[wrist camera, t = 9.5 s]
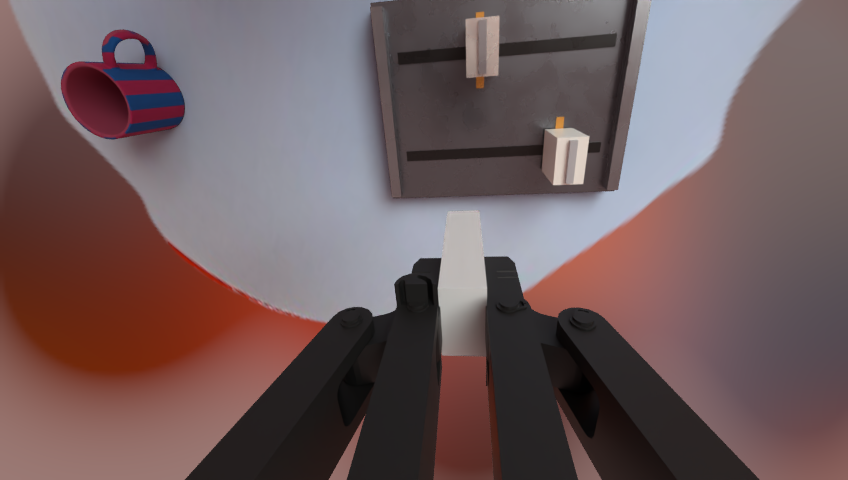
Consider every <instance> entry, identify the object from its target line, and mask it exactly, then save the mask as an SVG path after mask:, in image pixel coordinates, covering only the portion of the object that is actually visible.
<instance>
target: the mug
mask: <svg viewBox="0 0 848 480" xmlns="http://www.w3.org/2000/svg"><path fill="white" fill-rule="evenodd" d="M125 39H137V40H139V41H140V42H141V44H142V46H143V49H144V52H145V63H144V64H139V63H116V60H115V57H114V52H115V48H116V46H117V44H118V43H119V42H120V41H123V40H125ZM102 56H103V62H75V63H73V64H70V65H69V66H68V67H67V68H66V69H65V71H64V72H63V75H62V79H61V90H62V94H63V98H64V100H65V103H66V105H67V107H68V109H69V110H70V112H71V113H72V115H73V116H74V117H75V119H76V120H77V121H78V122H79V123H80V124H81V125H82V126H83V127H84V128H86V129H87V130H88V131H90V132H91V133H93V134H95V135H97V136H99V137H102V138H106V139H118V138H124V137H129V136H135V135H140V134H145V133H151V132H156V131H162V130H167V129H171V128H174V127H176V126H177V125H178V124H179V123H180V122H181V120H182V118H183V115H184V109H185V108H184V100H183V96H182V94H181V91H180V89H179V87H178V86H177V84H176V83H175V81H174V80H173V79H172V78H171V77H170V76H169V75H168V74H167V73H166V72H165V71H163V70H162V69H160V68H158V67H157V61H156V55H155V52H154V49H153V47H152V45H151V44H150V42H149V41H148V40H147V39H146V38H144V37H143V36H141V35H139V34H137V33H135V32H132V31H129V30H115V31H112V32H111V33H109V34H108V35H107V36H106V37H105V39H104V41H103V45H102Z"/></svg>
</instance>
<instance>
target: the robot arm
mask: <svg viewBox="0 0 848 480" xmlns="http://www.w3.org/2000/svg"><path fill="white" fill-rule="evenodd" d="M394 286H395V294H396V301H397V308H396V310H395V311H393V312H391V313H388V314H384V315H380V316H375V317H372V313H371V312H370V311H369V310H368V309H365V308H362V307H352V308H347V309H345V310H342V311H340V312H338V313H337V314H336V315H335V316H333V317H332V319H331V320H330V321H329V322H328V323H327V324H326V325H325V326H324V327H323V328H322V330H321V331H320V332H319V333H318V334H317V335H316V336H315V337H314V339H312V341H311V342H310V343H309V344H308V345H307V346H306V347H305V348H304V349H303V351H302V352H301V353H300V354H299V355H298V356H297V357H296V358H295V359H294V360H293V361H292V363H291V364H290V365H289V366H288V367H287V368H286V369H285V370H284V371H283V373H282V374H281V375H280V376H279V377H278V378H277V379H276V380H275V381H274V382H273V383H272V385H271V386H270V387H269V388H268V389H267V390H266V391H265V392H264V393H263V394H262V396H261V397H260V398H259V399H258V400H257V401H256V402H255V403H254V404H253V406H251V408H250V409H249V410H248V411H247V412H246V413H245V414H244V415H243V416H242V417H241V419H240V420H239V421H238V422H237V423H236V424H235V425H234V426H233V428H231V430H230V431H229V432H228V433H227V434H226V435H225V436H224V437H223V438H222V439H221V441H220V442H219V443H218V444H217V445H216V446H215V447H214V448H213V449H212V450H211V452H210V453H209V454H208V455H207V456H206V457H205V458H204V459H203V460H202V461H201V463H200V464H199V465H198V466H197V467H196V468H195V469H194V470H193V471H192V472H191V474H190V475H189V476H188V477H187V478H186V479H185V480H329V478H330V476H331V474H332V473H333V471H334V469H335V467H336V465H337V464H338V462H339V460H340V458H341V456H342V455H343V453H344V451H345V449H346V448H347V446H348V444H349V442H350V441H351V439H352V437H353V435H354V433H355V432H356V430H357V428H358V426H359V425H360V423H361V421H362V419H363V418H364V416H365V419H364V422H363V425H362V429H361V432H360V436H359V440H358V443H357V446H356V450H355V453H354V457H353V460H352V464H351V467H350V470H349V474H348V477H347V480H433V478H434V477H433V476H434V465H435V452H436V439H437V425H438V412H439V399H440V386H441V373H442V361H441V352H442V355H450V356H486V386H488V401H489V414H490V415H489V416H490V430H491V445H492V461H493V475H494V480H578V478H577V474H576V471H575V467H574V463H573V460H572V456H571V452H570V449H569V445H568V441H567V438H566V434H565V430H564V427H563V423H562V419H561V416H560V412H559V409H558V405H557V401H558V403H559V405H560V407H561V408H562V410H563V412H564V414H565V415H566V417H567V419H568V420H569V422H570V424H571V426H572V428H573V429H574V431H575V433H576V435H577V437H578V438H579V440H580V442H581V443H582V445H583V447H584V449H585V451H586V452H587V454H588V456H589V458H590V460H591V461H592V463H593V465H594V467H595V468H596V470H597V472H598V473H599V475H600V477H601V479H602V480H759V479H758V478H757V477H756V475H755V474H754V473H753V472H752V471H751V470H750V469H749V468H748V467H747V466H746V465H745V464H744V463H743V462H742V461H741V460H740V459H739V458H738V457H737V456H736V455H735V454H734V453H733V452H732V451H731V449H729V447H727V445H726V444H725V443H724V442H723V441H722V440H721V439H720V438H719V437H718V436H717V435H716V434H715V433H714V432H713V431H712V430H711V429H710V428H709V427H708V426H707V425H706V423H705V422H704V421H703V420H702V419H701V418H700V417H699V416H698V415H697V414H696V413H695V412H694V411H693V410H692V409H691V408H690V407H689V406H688V405H687V404H686V403H685V402H684V401H683V400H682V399H681V397H680V396H678V394H677V393H676V392H674V390H673V389H672V388H671V387H670V386H669V385H668V384H667V383H666V382H665V381H664V380H663V379H662V378H661V377H660V376H659V375H658V374H657V373H656V372H655V370H654V369H653V368H652V367H651V366H650V365H649V364H648V363H647V362H646V361H645V360H644V359H643V358H642V357H641V356H640V355H639V354H638V353H637V352H636V351H635V350H634V349H633V348H632V347H631V345H629V344H628V342H627V341H626V340H625V339H624V338H623V337H622V336H621V335H620V334H619V333H618V332H617V331H616V330H615V329H614V328H613V327H612V326H611V325H610V324H609V323H608V322H607V321H606V320H605V318H603V317H602V316H601V315H599V314H598V313H596V312H593V311H591V310H589V309H583V308H568V309H565V310H563V311H562V312H561V313H559V316H558V318H556V317H552V316H547V315H543V314H540V313H538V312H536V311H534V310H532V309H531V307H530V305H529V303H528V302H527V301H526V300H525V299H524V297H523V293H522V290H521V286H520V282H519V278H518V274H517V270H516V266H515V263H514V262H513V261H512V260H511V259H510V258H509V257H484V252H483V243H482V233H481V223H480V213H479V211H448V213H447V220H446V228H445V236H444V244H443V251H442V258H420V259H419V260H418V261H417V262H416V263H415V264H414V266H413V269H412V273H411V274H408V275H405V276H402V277H401V278H399V279H398V280H397V281H396V282H395V284H394ZM556 400H557V401H556ZM365 414H366V415H365Z"/></svg>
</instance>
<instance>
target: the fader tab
mask: <svg viewBox="0 0 848 480" xmlns="http://www.w3.org/2000/svg"><path fill="white" fill-rule="evenodd" d="M588 144H589V136H588V135H586V134H584V133H582V132H580V131H578V130H576V129H574V128H560V129H545V134H544V147H543V160H542V172H543V173H544V174H545V176H546V177H547V178H548V179H549V181H550V182H551V183H552V184H553V185H573V184H583V182H584V174H585V167H586V159H587V151H588Z"/></svg>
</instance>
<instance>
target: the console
mask: <svg viewBox="0 0 848 480" xmlns="http://www.w3.org/2000/svg"><path fill="white" fill-rule="evenodd" d="M650 6H651V0H395V1H385V2H376V3H371V7H370V11H371V20H372V28H373V37H374V45H375V54H376V63H377V71H378V80H379V89H380V97H381V106H382V115H383V123H384V132H385V141H386V149H387V158H388V167H389V175H390V184H391V192H392V197H393V198H416V197H446V196H477V195H507V194H537V193H567V192H598V191H614V190H618V186H619V180H620V174H621V169H622V163H623V157H624V152H625V146H626V141H627V135H628V129H629V124H630V118H631V112H632V107H633V101H634V96H635V90H636V84H637V79H638V73H639V67H640V62H641V56H642V51H643V45H644V39H645V34H646V28H647V22H648V17H649V11H650ZM560 128H574V129H576V130H578V131H580V132H582V133H584V134H586V135H588V136H589V144H588V151H587V159H586V167H585V174H584V182H583V184H573V185H553V184H552V183H551V182H550V181H549V179H548V178H547V177H546V176H545V174H544V173H543V172H542V160H543V147H544V134H545V129H560Z"/></svg>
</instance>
